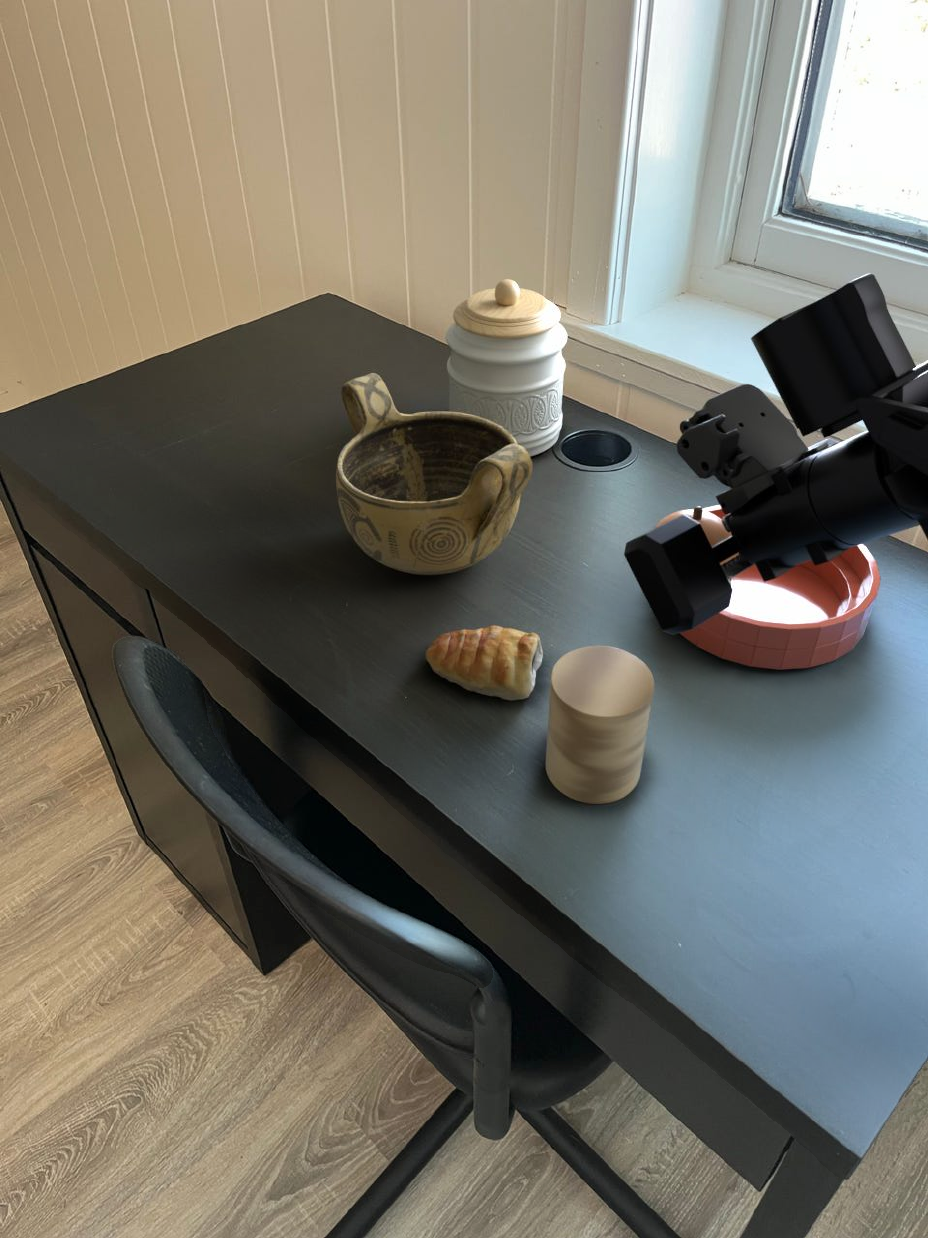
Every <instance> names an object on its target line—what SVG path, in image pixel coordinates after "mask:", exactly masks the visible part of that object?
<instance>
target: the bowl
mask: <svg viewBox="0 0 928 1238" xmlns="http://www.w3.org/2000/svg"><path fill="white" fill-rule="evenodd" d="M702 509H703V511H707V512H710V513H712V514H714V515H716V516H718V517H719V518H720V519H722V518H723V517H724V516H726V514H724V513H723V511H722V509H721V507H720V505H719V504H717V505H712V506H708V507H702ZM727 515H728V514H727ZM792 567H793V566H792ZM880 585H881V575H880V571H879V567H878V562H877V561H876V559H875V557H874V556H873V555H872V553H871V552H870V550H869V549H868V547H867V546H866V545H865V544H864V543H863V544H860V545H857V546H854V547H851V548H849V549H848V550H846V551H845V552H843V553H841V554H840V555H838V556H837V557H835V558H833V559H832V560H830V561H829V562H826V563H823V564H819V565H816V566H815V565H814V563H813V561H812V560H811V561H808V562H805V563H802V564H799V565H797V566H796V565H795V567H794V568H792V569H790V570H789V571H787V572H785V573H784V574H782V575H780V576H779V577H777V578H775V579H772V580H769V581H766V582H764V581H763V579H762V577H761V575H760V573H759V571H758V569H757V566H756V564H755V565H753V566H752V567H750V568H748V569H747V570H745V571H743V572H742V573H740V574H738V575H736V576H735V577H733V578H732V580H731V587H732V589H733V591H732V596H731V601H730V605H729V607H728V608H726V609H724V610H723V611H721V612H719V613H718V614H716V615H715V616H713V617H711V618H710V619H708V620H706V621H705V622H703V623H701V624H700V625H698V626H697V627H695V628H693V629H692V630H688V631H684V632H681V633H679V635H681V636H682V637H683V638H685V639H686V640H687V641H689V642H690V643H692V644H693V645H694V646H696V647H697V648H700V649H702V650H704V651H706V652H708V653H709V654H712V655H714V656H716V657H718V658H720V659H723V660H727V661H730V662H733V663H737V664H741V665H744V666H747V667H753V668H762V669H770V670H780V671H781V670H795V669H808V668H813V667H817V666H821V665H824V664H827V663H832V662H834V661H836V660H838V659H839V658H841V657H842V656H844V655H845V654H847V653H849V652H850V651H852V650H853V649H854V648H855V647H856V645H857V644H858V642H860V640H861V639H862V638H863V637H864V635H865V633H866V629H867V626H868V623H869V620H870V618H871V615H872V612H873V609H874V606H875V603H876V600H877V598H878V595H879V590H880Z"/></svg>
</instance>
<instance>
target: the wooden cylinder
mask: <svg viewBox="0 0 928 1238" xmlns="http://www.w3.org/2000/svg"><path fill="white" fill-rule="evenodd" d="M550 673H551V674H550V685H549V686H550V687H549V701H548V702H549V704H548V717H547V719H548V721H547V733H546V734H547V735H546V750H545V752H546V753H545V771H546V775H547V777H548V779H549V781H550V782H551V784H552V785H553V787H554V788H556V789H557V790H558V791H559V792H560V793H561V794H563V795H564V796H566V797H568V798H569V799H572V800H574V801H577V802H581V803H585V804H590V805H603V804H610V803H614V802H617V801H620V800H621V799H624V798H626V796H628V795H630V794H631V792H632V791H634V790H635V788H636V787H637V785H638V783H639V780H640V777H641V772H642V766H643V760H644V759H643V758H644V755H645V754H644V753H645V746H646V741H647V734H648V729H649V722H650V717H651V709H652V705H653V704H652V703H653V698H654V697H653V696H654V690H655V680H654V677H653V674H652V672H651V670H650V668H649V667H648V666H647V664H646V663H645V662H644V661H642V660H641V659H640V658H639V657H637V656H636V655H635V654H632V653H631V652H629V651H626V650H624V649H621V648H619V647H618V648H617V647H614V646H607V645H589V646H587V645H586V646H583V647H578V648H575V649H573V650H571V651H569V652H567V653H565V654H564V655H562V656H561V657H560V658H559V659H558V660H557V661H556V663H555V664H554V666H553V667H552V670H551V672H550Z"/></svg>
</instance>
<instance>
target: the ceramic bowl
mask: <svg viewBox="0 0 928 1238" xmlns="http://www.w3.org/2000/svg"><path fill="white" fill-rule="evenodd" d="M340 391H341V392H340V394H341V399H342V402H343V406H344V409H345V412H346V414H347V417H348V420H349V422H350V425H351V428H352V431H353V432H354V436H353V437H352V438H351V439H350V440H349V441H348V442H347V443H346V444H345V445H344V446H343V447H342V449H341V450H340V452H339V454H338V458H337V464H336V471H335V472H336V473H335V483H336V486H335V487H336V494H337V502H338V507H339V510H340V514H341V517H342V519H343V522H344V525H345V527H346V530H347V531H348V532H349V534H350V536H351V537H352V539H353V541H354V542H355V543H356V545H358V547H359V548H360V549H361V550H362V551H363V552H364V553H365V554H366V555H367V556H368V557H369V558H372V559H373V560H375V561H376V562H378V563H380V564H382V565H384V566H385V567H388V568H391V569H393V570H396V571H399V572H403V573H407V574H410V575H411V574H412V575H418V576H438V575H439V576H440V575H447V574H453V573H456V572H459V571H462V570H466V569H468V568H470V567H471V566H474V565H475V564H477V563H479V562H481V561H483V560H484V559H485V558H487V557H488V556H489V555H490V554H492V553H493V552H494V551H495V550H496V549H497V548H498V547H500V545H501V544H502V543H503V542H504V541H505V540H506V538H507V537H508V535H509V533H510V531H511V529H512V527H513V526H514V522H515V520H516V517H517V515H518V511H519V507H520V504H521V503H520V502H521V497H522V493H523V492H524V490H525V488H526V487H527V485H528V483H529V481H530V479H531V477H532V474H533V465H534V464H533V460H532V458H531V456H529V454H528V452H527V451H526V449H525V448H524V447H522V446H520V445H518V444H517V442H516V440H515V439H514V437H513V436H512V435H511V434H510V433H509V432H508V431H507V430H505V429H504V428H503V427H502V426H500V425H498V424H496V423H494V422H492V421H489V420H487V419H484V418H481V417H479V416H475V415H470V414H465V413H458V412H449V411H446V410H445V411H443V410H442V411H441V410H439V411H438V410H437V411H419V412H415V413H401V412H400V411H399V410H397V407H396V406H395V404H394V401H393V398H392V396H391V394H390V391H389V389H388V387H387V385H386V383H385V382H384V380H383V379H382V377H380V375H379V374H377V373H375V372H371V373H369V374H368V373H367V374H365V375H361V376H359V377H356V378H353V379H350V380H348V381H347V382H345V383H344V384H343V385H342V386H341V390H340ZM424 495H425V496H424Z"/></svg>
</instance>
